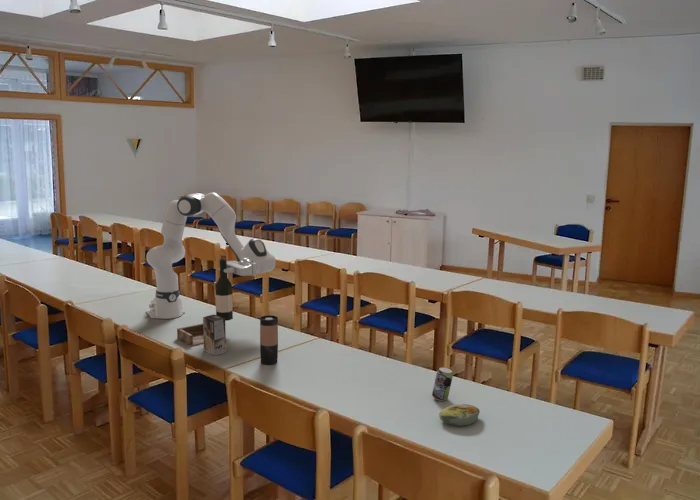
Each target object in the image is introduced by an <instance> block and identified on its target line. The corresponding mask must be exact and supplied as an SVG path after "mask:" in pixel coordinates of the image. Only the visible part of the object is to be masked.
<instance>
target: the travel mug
mask: <svg viewBox="0 0 700 500" xmlns="http://www.w3.org/2000/svg"><path fill="white" fill-rule="evenodd" d="M278 321H279V319H278V316H275V315H262V316H260V318H259V350H260V354H259V355H260V363H261V365H264V366H274V365H277V363H278V357H279V356H278V352H279V351H278V349H279V334H278V333H279V325H278V324H279V323H278Z"/></svg>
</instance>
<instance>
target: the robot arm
mask: <svg viewBox="0 0 700 500" xmlns="http://www.w3.org/2000/svg"><path fill="white" fill-rule="evenodd" d="M202 213H206V214H207V215H208V216H209V217H210V218H211V219H212V220H213V221H214V223H215V224H216V225H217V227H218V230H219V233H220V236H221V237H222V238H223V240H224V241H225V243H226V244H227V246H228V247H229V248H230V249H231V251H232V253H233V254H234V256H235V258H236V260H227V268H225V269H223V270H224V271H223V272H225V273H227V274H228V273H232V274H235V275H238V276H241V277H247V276H251V277H255V276H257V274H264V273H268V272H271V271H273V270H274V269H275V267H276V263H277V261H276V257H275V256H274V255H273V254H272V253H270V252H269V251H268V250H267V248H266V245H265V243H264V241H262V240H261V239H259V238H256V237H255V238H251V239H249V241H248V242H247V243H246V244H245V245H243V244H242V242H241V240H240V239H239V238H238V237H237V235H236V231H235V230H236V229H235V228H236V227H235V226H236V221H237V215H236V212H235V210H234V209H233V208H232V207H231V206H230V204H229V202H227V201H226V200H225V199H224V198H223V197H222V196H220V195H219V194H218V193H217V192H213V191H212V192H209V193H205V192H201V191H199V192H193V193H192V192H191V193H189V194H187V195H184V196H182V197H180V198H179V199H174V200H171V201H170V202H169V204H168V206H167V208H166V212H165V214H164V218H163V222H162V225H161V230H160V233H161V235H162V236H163V243H162V244H160V245H156V246H154V247H152V248H151V249H149V250H148V251H147V253H146V256H145V257H146V261H147V264H148V265H150V267H151V268H152V269H153V271H154V273H155V274H154V275H155V278H156V279H155V280H156V289H155V297H154V298H153V299H152V300H151V301H150V303H149V304H148V305H149V306H148V307H149V308H148V309H145V310H146V311H145V312H146V314H147V315H148V316H149V317H150V318H151V319H163V320H164V319H165V320H166V319H170V320H171V319H176V318H179V317H181V316H183V314H185V313H186V311H185V310H184V308H183V301H182V299H183V298H181V297H180V288H179V275H178V274H177V272H175V271H174V269H173V264H174V263H175V264H176V263H178V262H179V261H181V260H182V259H184V257H185V256H186V247H185V246H184V245H183V237H184V236H183V235H184V231H185V228H186V227H185V226H186V222H187V219H188V217H192V216H197V215H200V214H202ZM217 269H218V271H219V272H220V266H218V267H217Z"/></svg>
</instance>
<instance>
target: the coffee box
mask: <svg viewBox="0 0 700 500" xmlns="http://www.w3.org/2000/svg"><path fill="white" fill-rule="evenodd" d="M202 324H203V334H204V344H203V351H204V352H206V353H209V354H210V355H213V356H220V355H222V354H226V353H227V346H226V345H227V343H226V342H227V340H226V339H227V338H226V337H227V335H226V334H227V333H226V321H225V318H222V317H220V316H217V315H216V314H210V315H206V316H203V317H202Z"/></svg>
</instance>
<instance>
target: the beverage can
mask: <svg viewBox="0 0 700 500" xmlns="http://www.w3.org/2000/svg"><path fill="white" fill-rule="evenodd" d="M453 376H454V374H453V371H452V370H451V369H450V368H447V367H445V366H444V367H439V369H437V370H436V375H435V377H434V378H435V379H434V383H433V388H432V393H431V395H432V397H433V398H434V400H437V401H441V402H443V401H444V400H445V401H446V400H448V398H449V395H450V389H451V387H452V386H451V385H452V380H453Z"/></svg>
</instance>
